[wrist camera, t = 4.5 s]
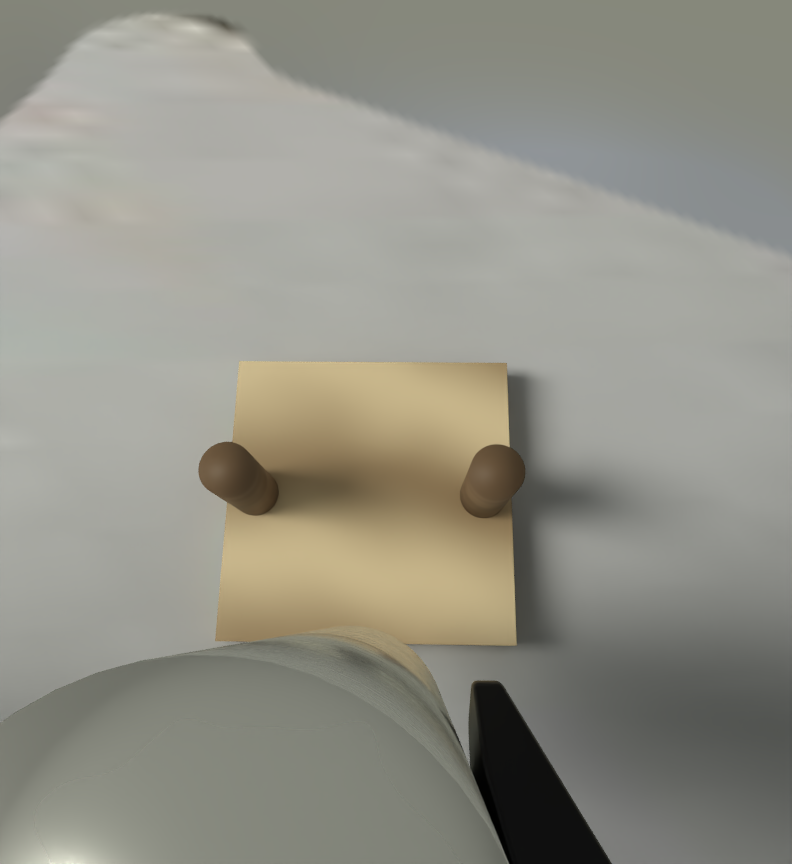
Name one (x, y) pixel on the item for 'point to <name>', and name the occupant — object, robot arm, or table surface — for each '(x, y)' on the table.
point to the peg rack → (368, 502)
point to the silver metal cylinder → (246, 761)
